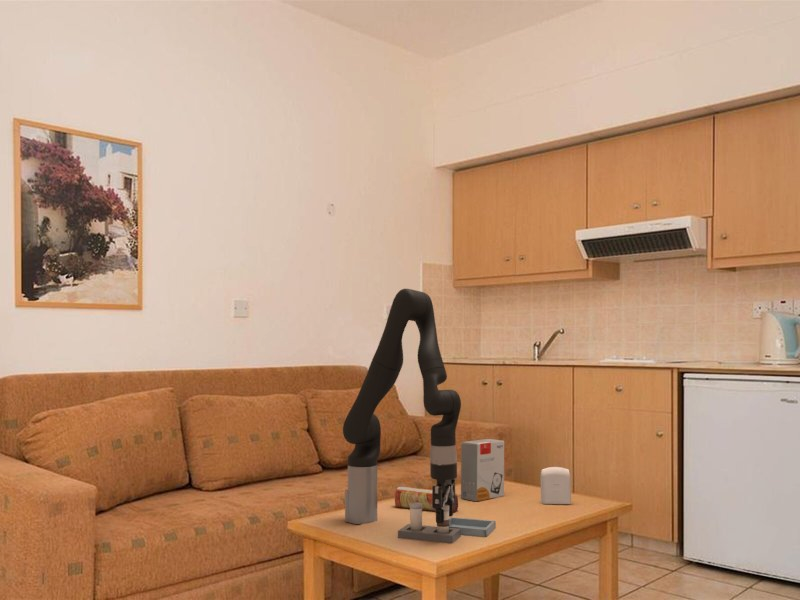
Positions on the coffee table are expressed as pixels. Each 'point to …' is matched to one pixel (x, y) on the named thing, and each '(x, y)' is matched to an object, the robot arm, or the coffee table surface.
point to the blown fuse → (444, 526)
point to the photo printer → (555, 486)
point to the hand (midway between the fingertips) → (444, 519)
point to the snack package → (417, 498)
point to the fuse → (416, 516)
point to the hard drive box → (482, 469)
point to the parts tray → (472, 526)
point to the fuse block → (429, 534)
